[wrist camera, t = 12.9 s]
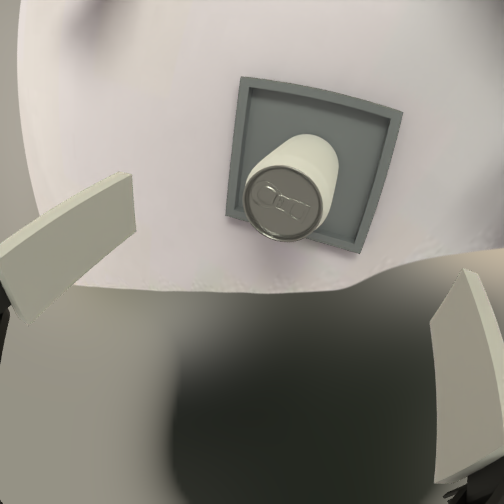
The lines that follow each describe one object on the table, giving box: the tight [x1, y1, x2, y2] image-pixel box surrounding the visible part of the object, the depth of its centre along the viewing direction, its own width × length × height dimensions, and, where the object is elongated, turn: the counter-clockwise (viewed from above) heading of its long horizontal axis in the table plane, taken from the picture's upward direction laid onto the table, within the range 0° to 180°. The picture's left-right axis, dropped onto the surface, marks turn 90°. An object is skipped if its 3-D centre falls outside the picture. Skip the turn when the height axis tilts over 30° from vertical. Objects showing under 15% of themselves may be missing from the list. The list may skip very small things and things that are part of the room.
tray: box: [225, 77, 403, 254], centre depth 29 cm, size 16×16×2 cm
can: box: [243, 134, 339, 242], centre depth 25 cm, size 6×6×12 cm
